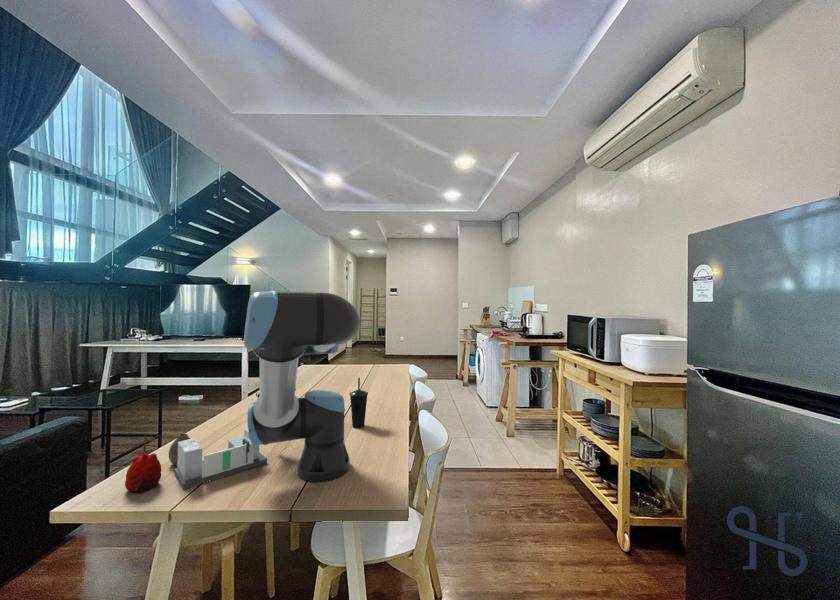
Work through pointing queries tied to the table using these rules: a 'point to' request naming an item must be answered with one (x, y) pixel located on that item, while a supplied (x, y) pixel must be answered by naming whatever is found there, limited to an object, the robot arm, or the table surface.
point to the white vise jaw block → (189, 459)
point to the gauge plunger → (244, 441)
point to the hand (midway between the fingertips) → (275, 439)
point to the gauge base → (224, 464)
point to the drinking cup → (358, 406)
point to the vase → (176, 448)
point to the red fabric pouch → (143, 472)
